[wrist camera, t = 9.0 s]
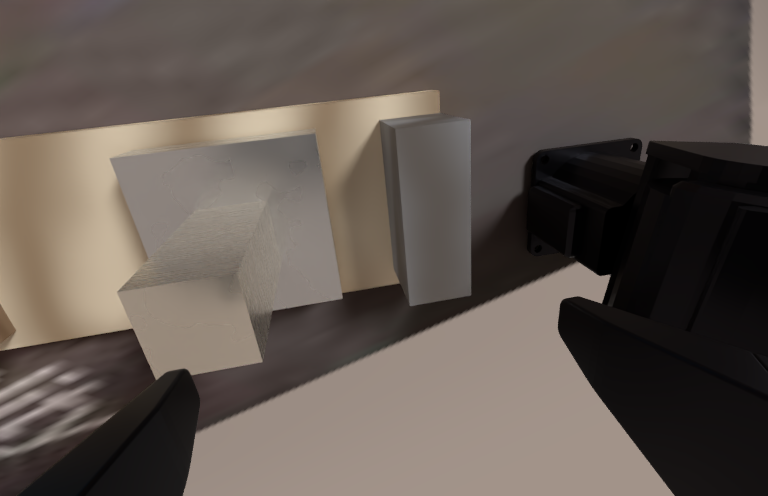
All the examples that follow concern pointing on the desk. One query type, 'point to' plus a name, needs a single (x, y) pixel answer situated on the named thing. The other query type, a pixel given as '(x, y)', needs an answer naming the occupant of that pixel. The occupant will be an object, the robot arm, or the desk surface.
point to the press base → (330, 119)
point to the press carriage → (225, 245)
